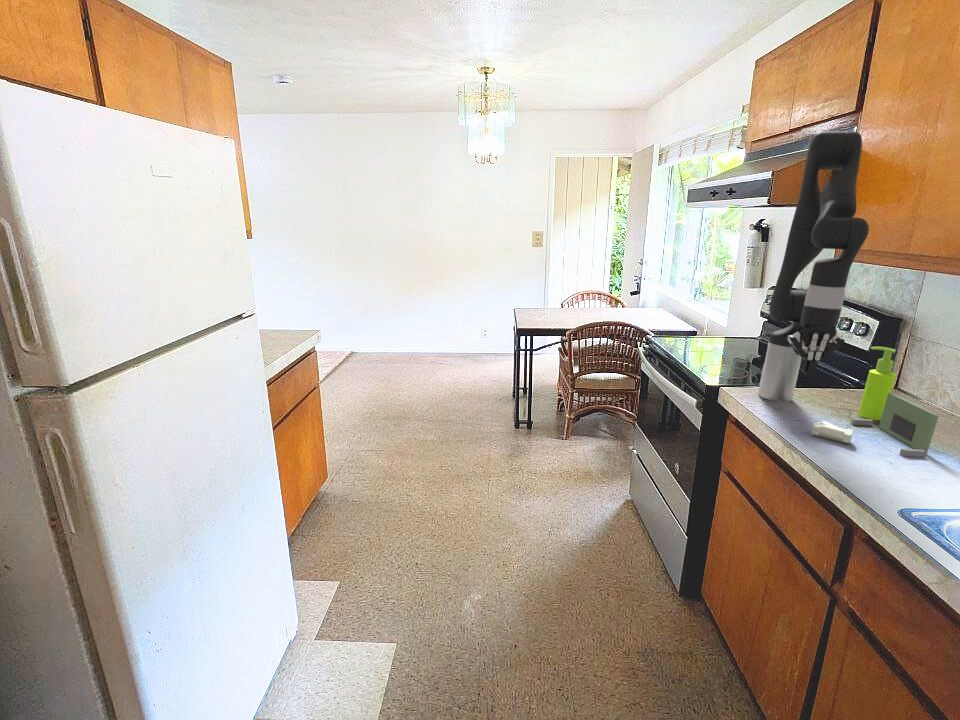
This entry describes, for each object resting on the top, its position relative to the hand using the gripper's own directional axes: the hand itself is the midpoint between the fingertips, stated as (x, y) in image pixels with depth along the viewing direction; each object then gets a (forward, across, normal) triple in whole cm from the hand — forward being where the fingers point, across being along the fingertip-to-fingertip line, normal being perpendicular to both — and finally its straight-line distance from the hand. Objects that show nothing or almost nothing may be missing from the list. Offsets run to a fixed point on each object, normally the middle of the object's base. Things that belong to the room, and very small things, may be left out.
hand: (807, 373), depth 122 cm
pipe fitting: (+17, -9, 0) cm, 19 cm away
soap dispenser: (+17, -29, -16) cm, 37 cm away
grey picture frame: (+17, -23, 0) cm, 29 cm away
